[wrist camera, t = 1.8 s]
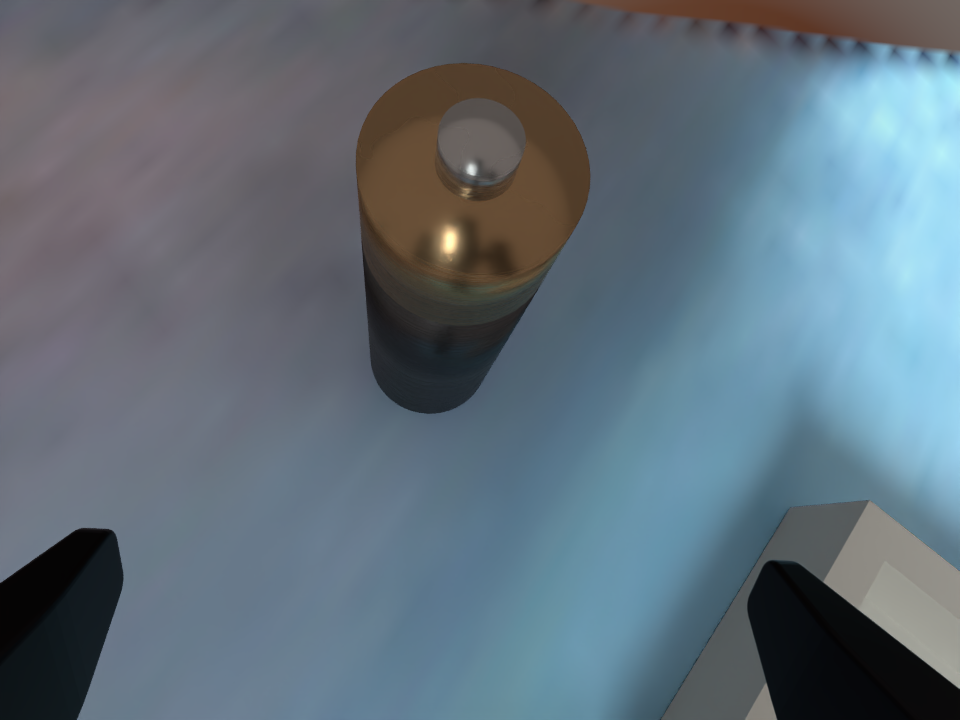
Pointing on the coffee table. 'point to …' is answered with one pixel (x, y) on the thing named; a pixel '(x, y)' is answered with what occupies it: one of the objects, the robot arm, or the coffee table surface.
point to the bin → (853, 575)
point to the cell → (460, 222)
